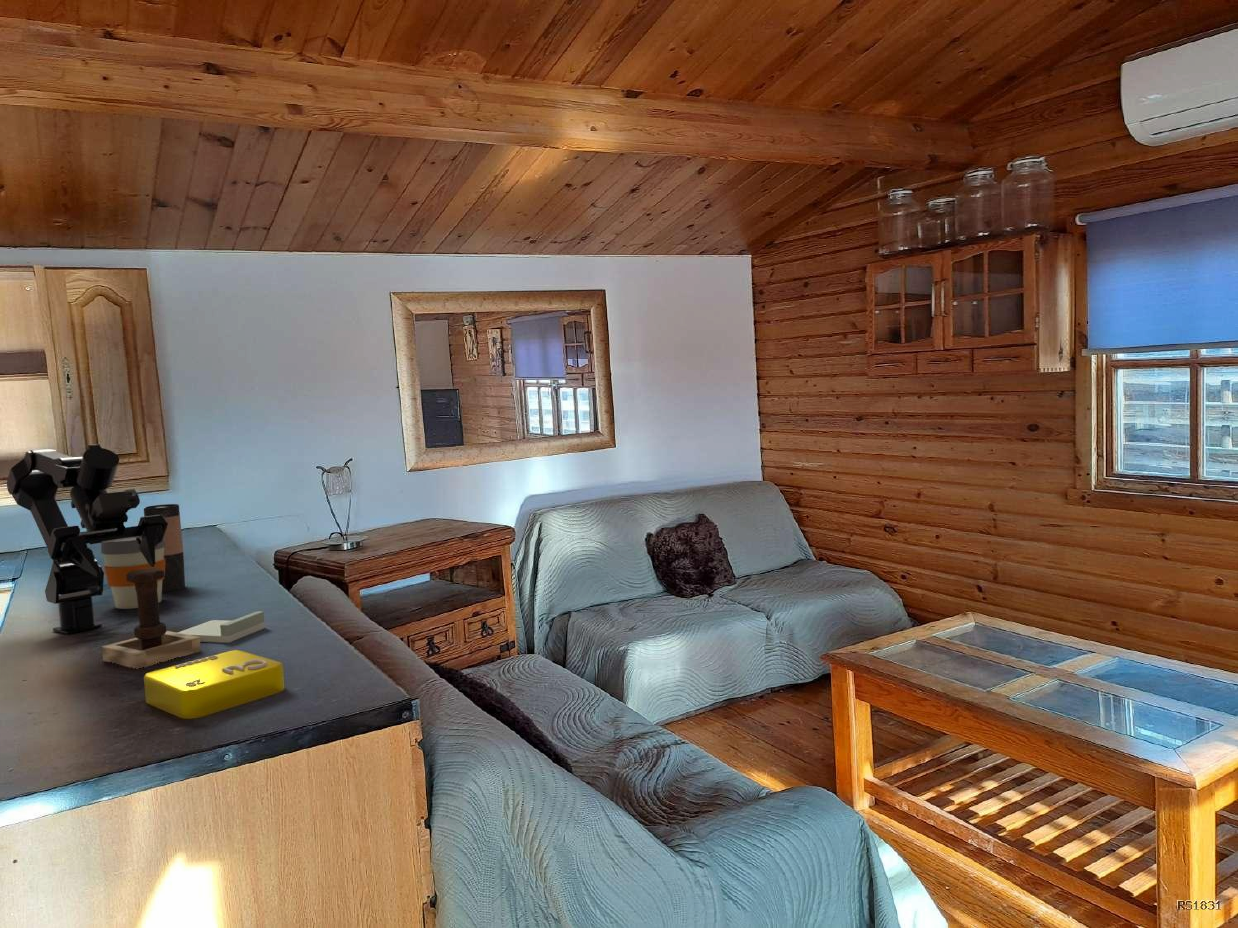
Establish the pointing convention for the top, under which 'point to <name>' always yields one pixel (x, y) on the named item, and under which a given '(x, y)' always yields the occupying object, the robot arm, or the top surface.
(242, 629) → the pale green ledge plate
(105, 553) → the reusable coffee cup
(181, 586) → the travel mug
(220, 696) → the element tile
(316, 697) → the top surface
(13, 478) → the robot arm
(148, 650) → the socket
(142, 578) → the bolt
